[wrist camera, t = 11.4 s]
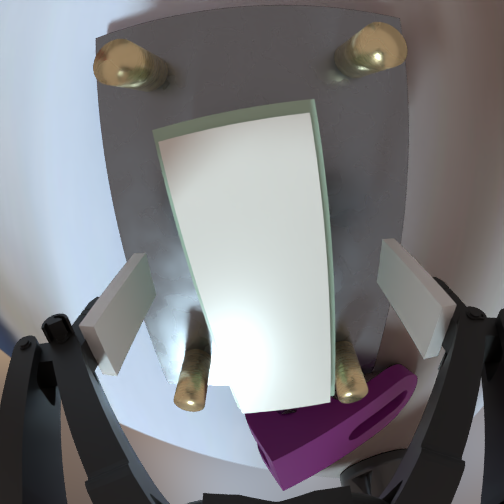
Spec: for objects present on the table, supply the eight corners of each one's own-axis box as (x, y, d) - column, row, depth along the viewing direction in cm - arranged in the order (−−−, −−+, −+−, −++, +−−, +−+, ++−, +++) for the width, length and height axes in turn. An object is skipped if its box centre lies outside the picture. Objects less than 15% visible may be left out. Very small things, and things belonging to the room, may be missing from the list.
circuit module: (316, 324, 23) (336, 405, 15) (242, 334, 23) (237, 418, 16) (290, 106, 16) (319, 97, 9) (191, 125, 16) (144, 131, 9)
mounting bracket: (372, 322, 32) (232, 396, 26) (424, 358, 25) (272, 461, 19) (366, 373, 36) (249, 439, 30) (407, 408, 29) (282, 491, 23)
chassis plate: (368, 361, 27) (386, 411, 21) (171, 372, 28) (157, 424, 22) (390, 23, 14) (437, -3, 8) (105, 42, 15) (53, 23, 9)
